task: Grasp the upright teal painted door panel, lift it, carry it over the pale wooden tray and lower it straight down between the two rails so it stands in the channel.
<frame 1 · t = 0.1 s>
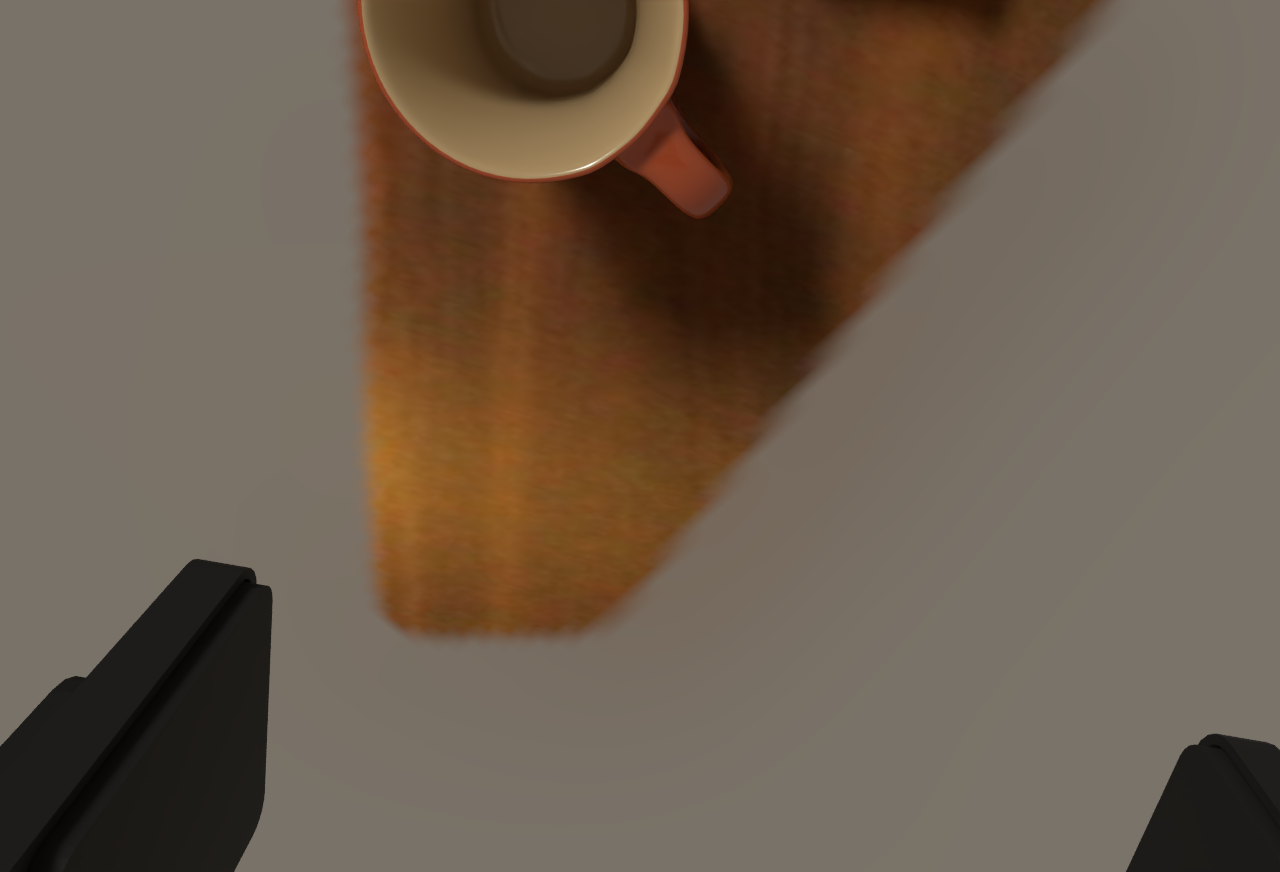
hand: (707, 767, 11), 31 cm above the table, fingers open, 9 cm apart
mug: (598, 44, 38), on the table
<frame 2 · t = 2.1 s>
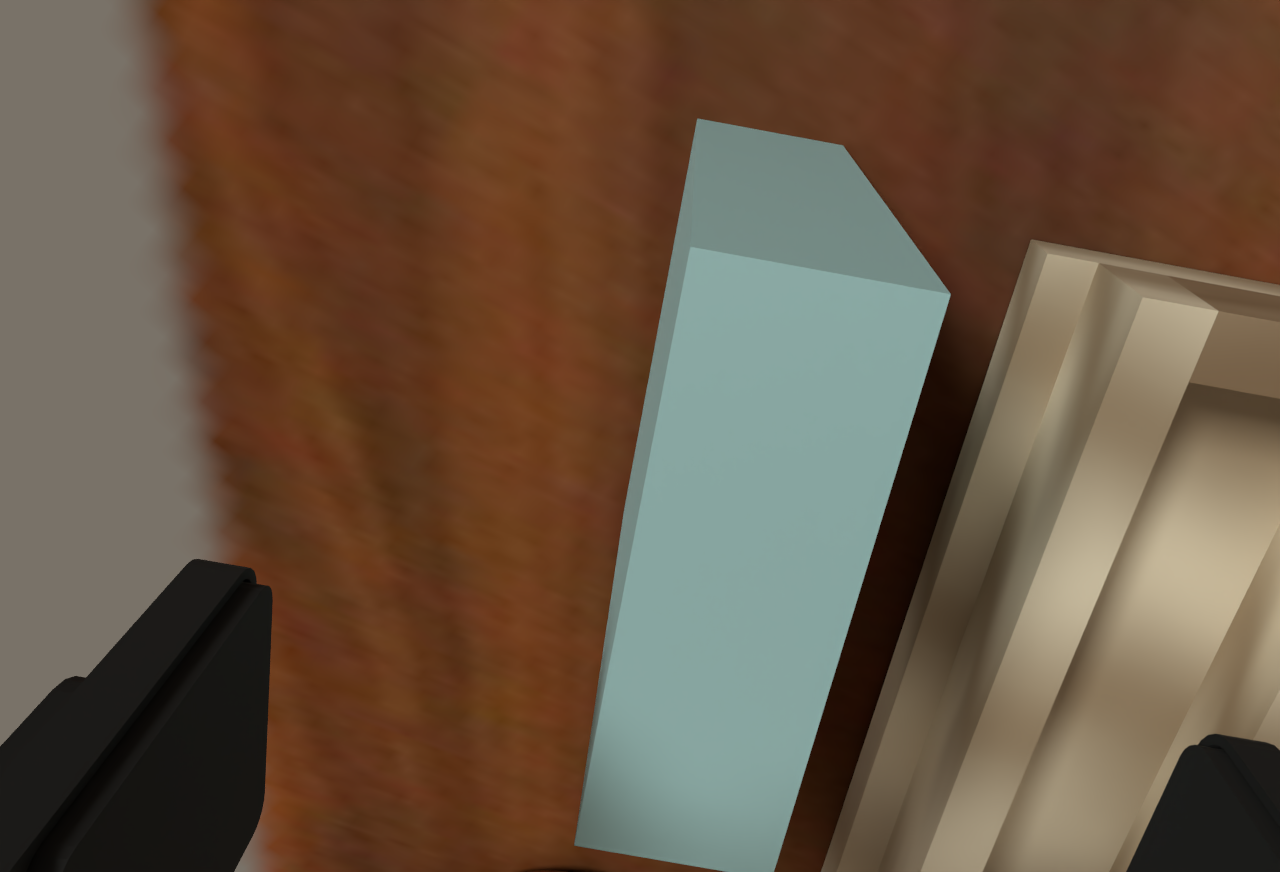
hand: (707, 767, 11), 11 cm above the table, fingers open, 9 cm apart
pale wooden tray: (1093, 639, 22), on the table
door panel: (724, 343, 20), on the table
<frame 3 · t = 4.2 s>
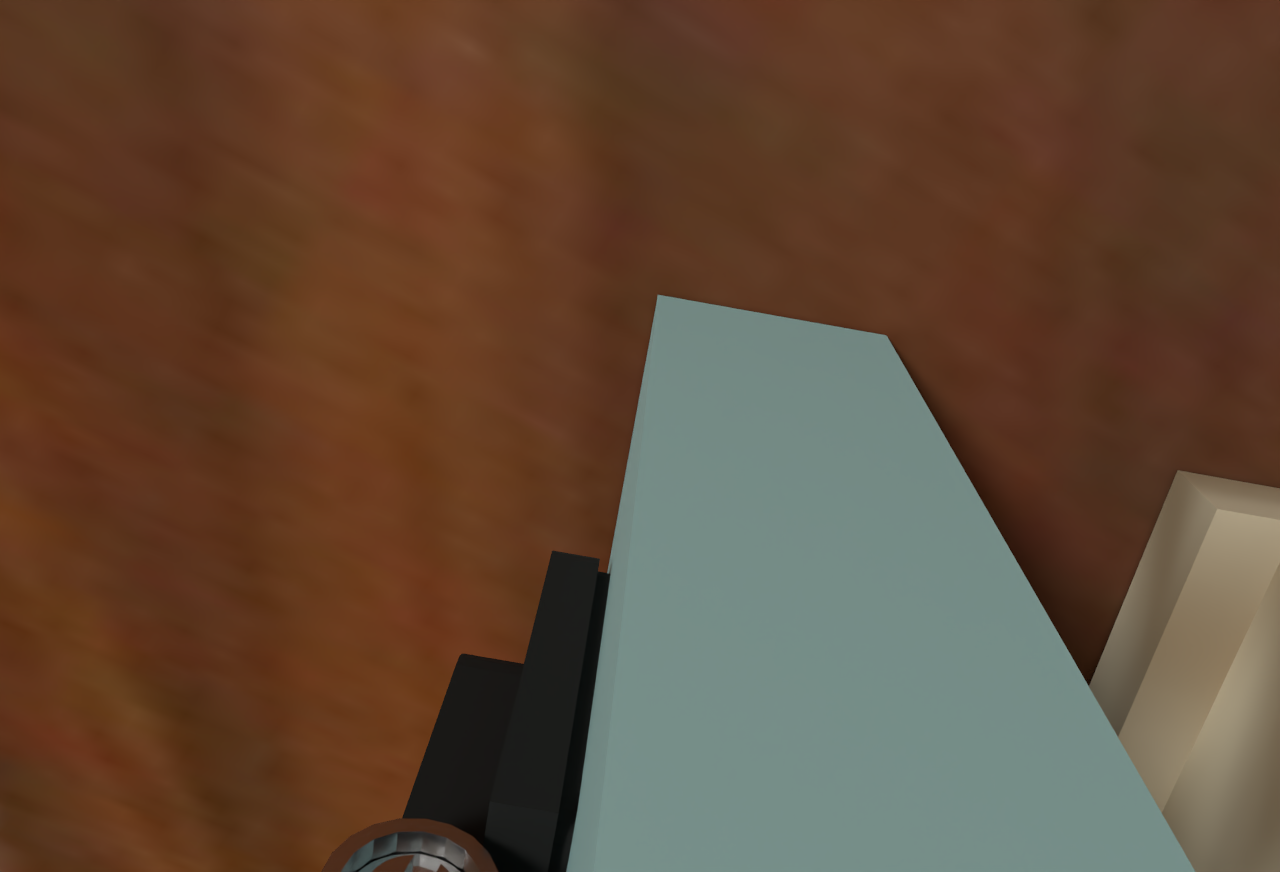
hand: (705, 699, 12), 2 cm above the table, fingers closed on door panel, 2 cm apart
door panel: (704, 616, 13), on the table, touching gripper
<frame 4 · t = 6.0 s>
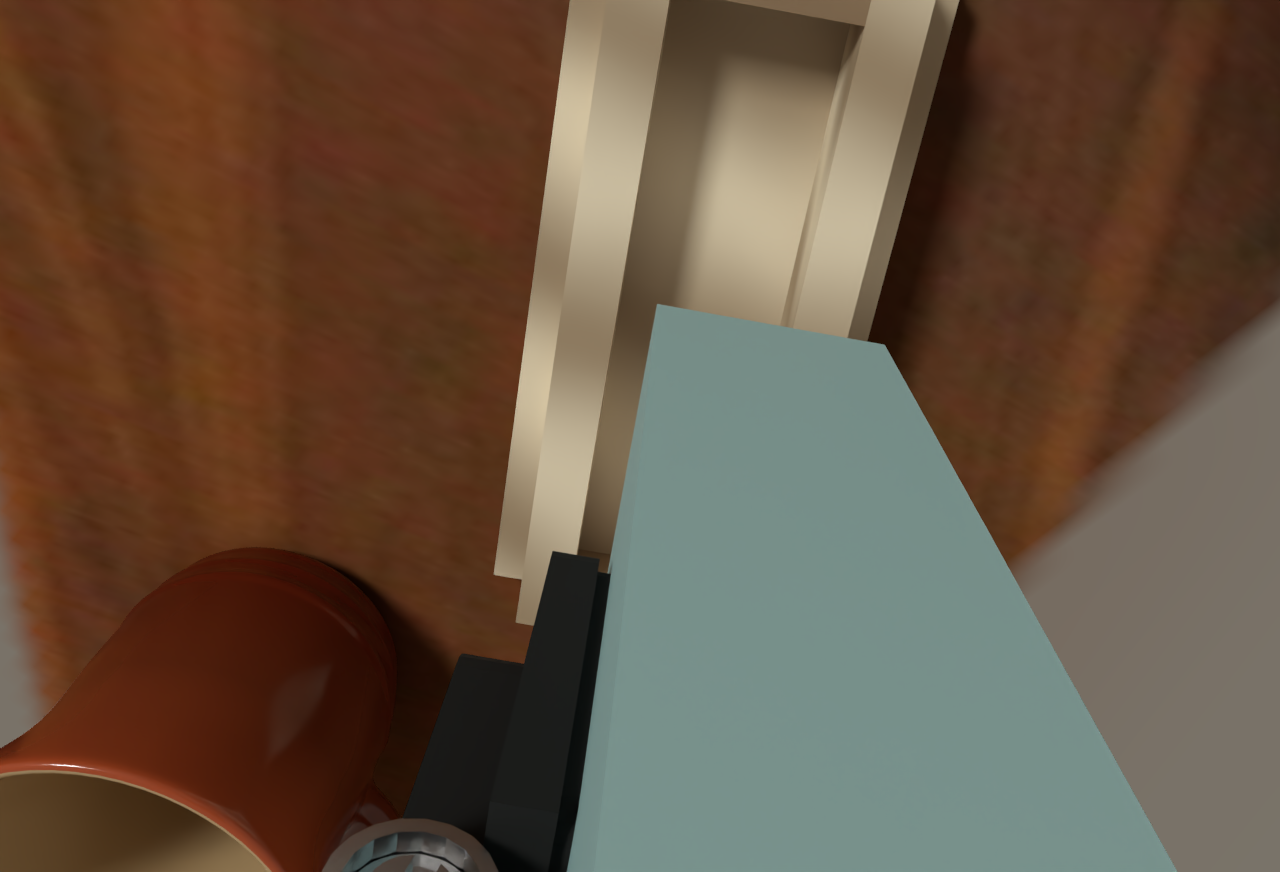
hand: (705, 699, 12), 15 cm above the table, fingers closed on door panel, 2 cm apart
pale wooden tray: (699, 302, 26), on the table
mug: (329, 672, 31), on the table
door panel: (702, 623, 13), point 14 cm above the table, touching gripper
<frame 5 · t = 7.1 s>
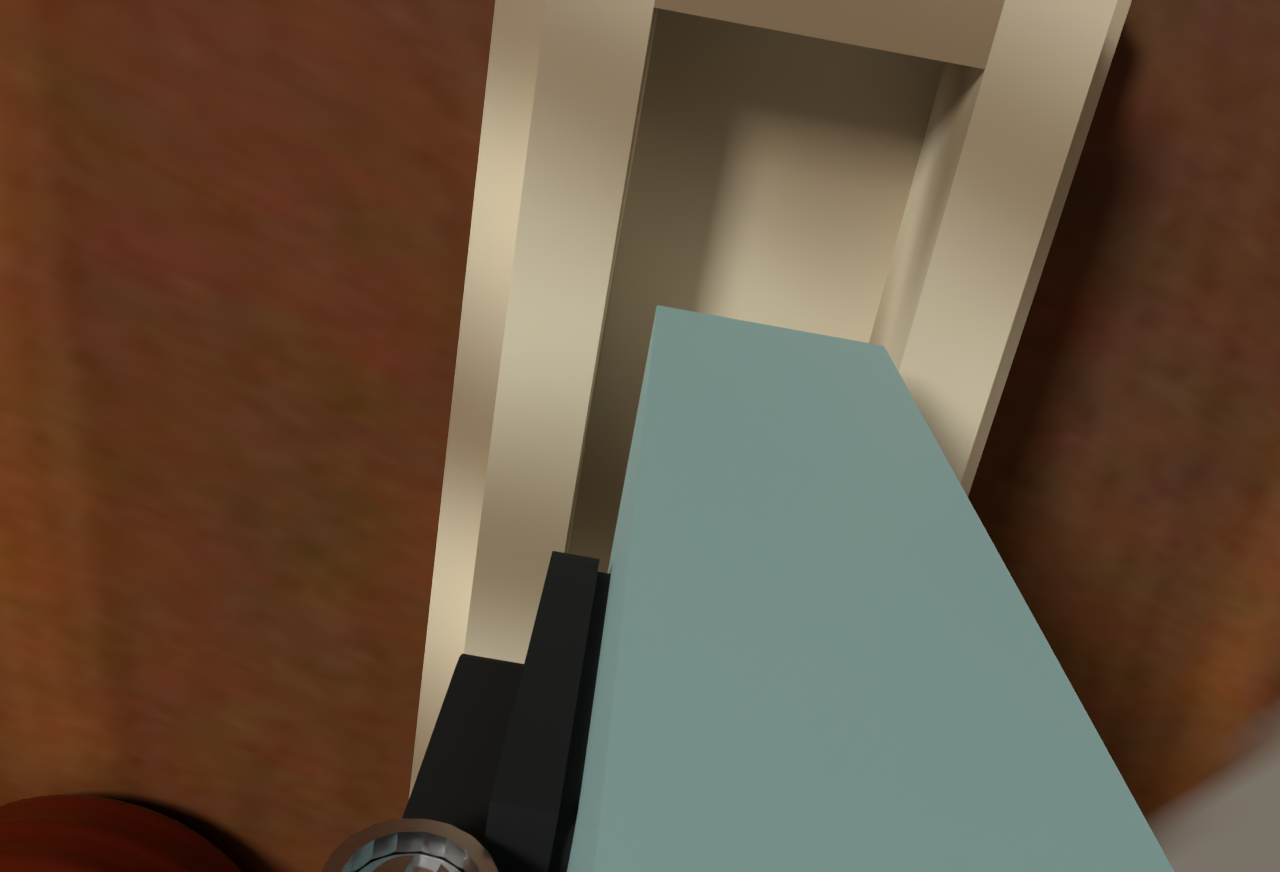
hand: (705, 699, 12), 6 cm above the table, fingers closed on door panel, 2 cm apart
pale wooden tray: (701, 467, 17), on the table
door panel: (702, 623, 13), point 4 cm above the table, touching gripper
when the fingers open (4 cm above the table, at t = 8.1 s): door panel stays where it is, resting on pale wooden tray.
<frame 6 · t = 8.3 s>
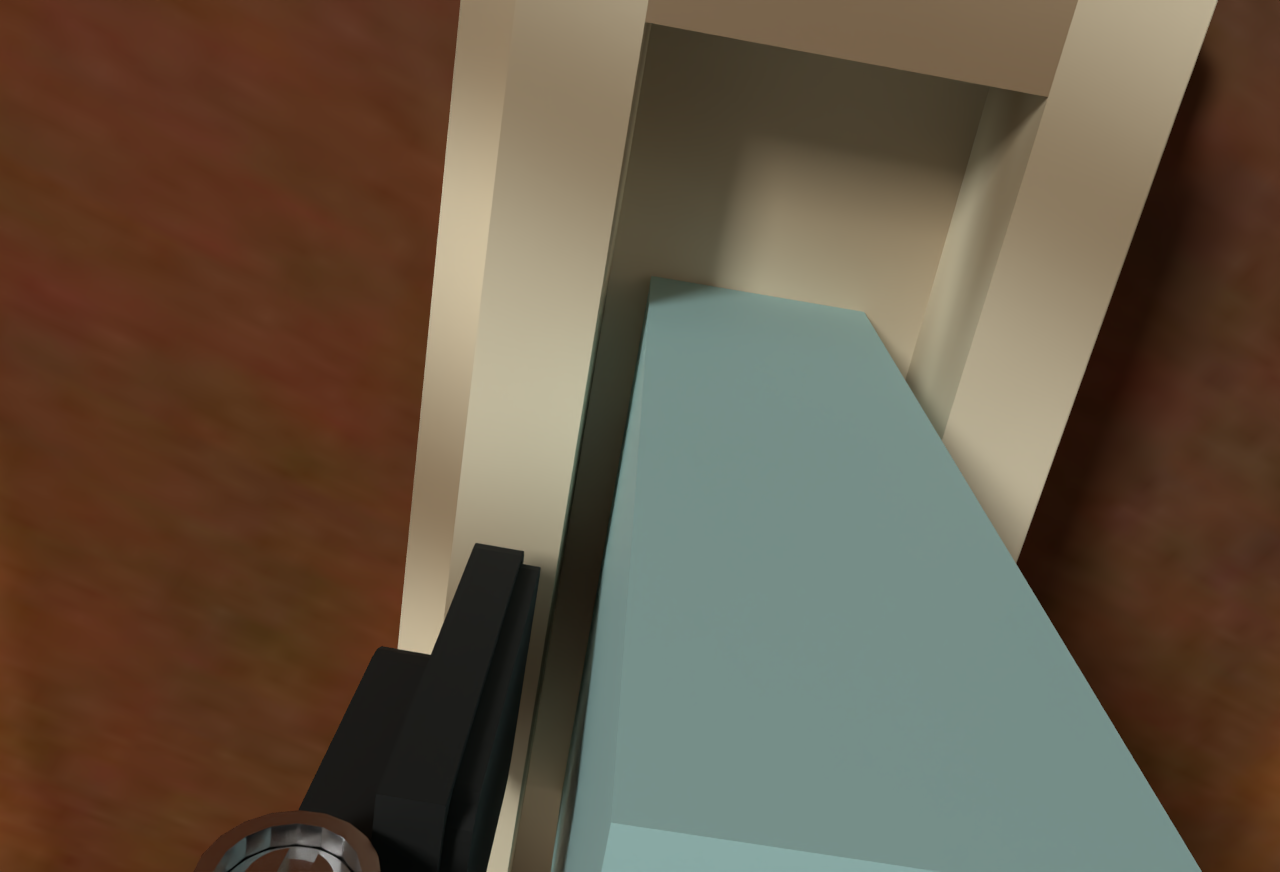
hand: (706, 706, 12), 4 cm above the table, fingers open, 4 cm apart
pale wooden tray: (702, 543, 15), on the table
door panel: (696, 579, 14), point 1 cm above the table, touching pale wooden tray
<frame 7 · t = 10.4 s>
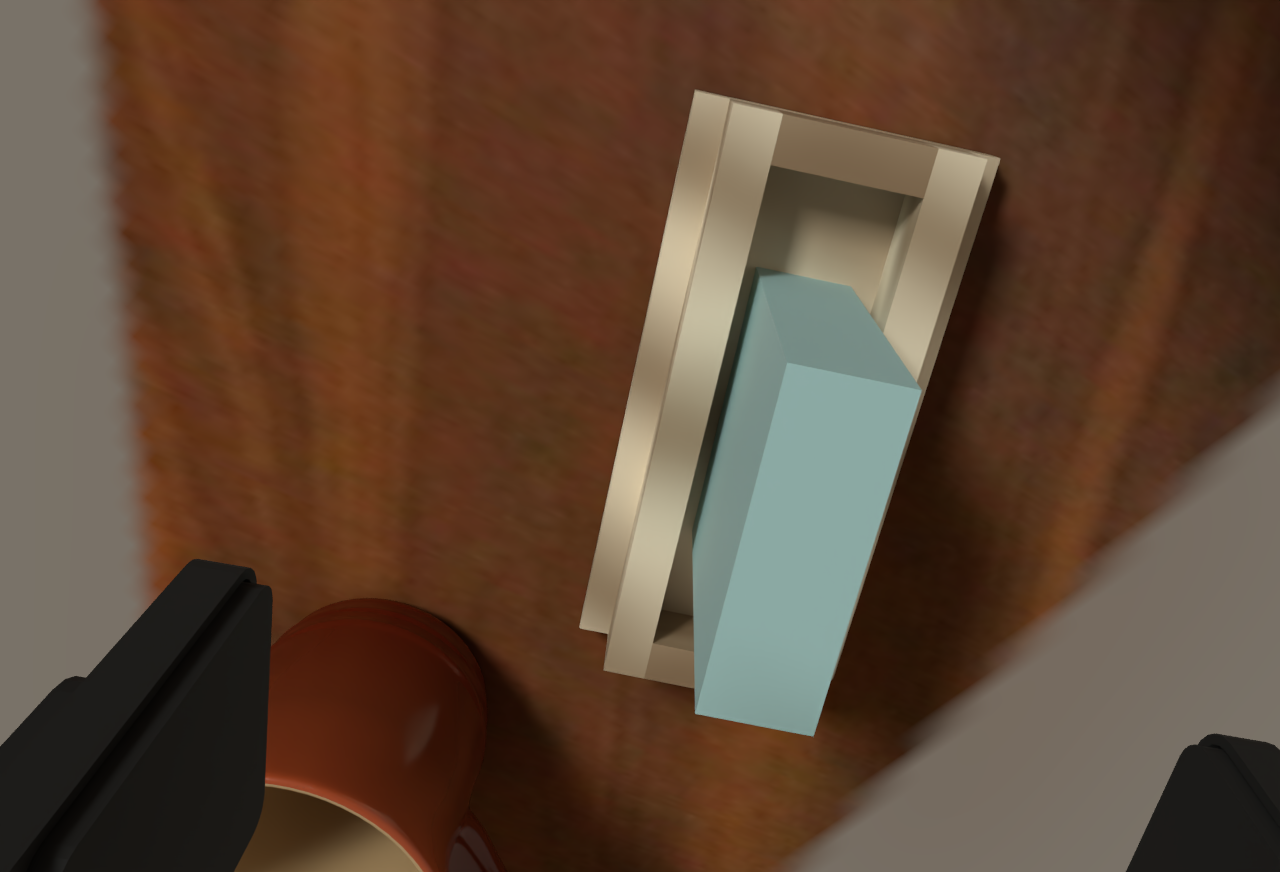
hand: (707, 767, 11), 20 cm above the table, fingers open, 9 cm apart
pale wooden tray: (768, 403, 31), on the table
mug: (422, 709, 35), on the table
door panel: (767, 414, 30), point 1 cm above the table, touching pale wooden tray
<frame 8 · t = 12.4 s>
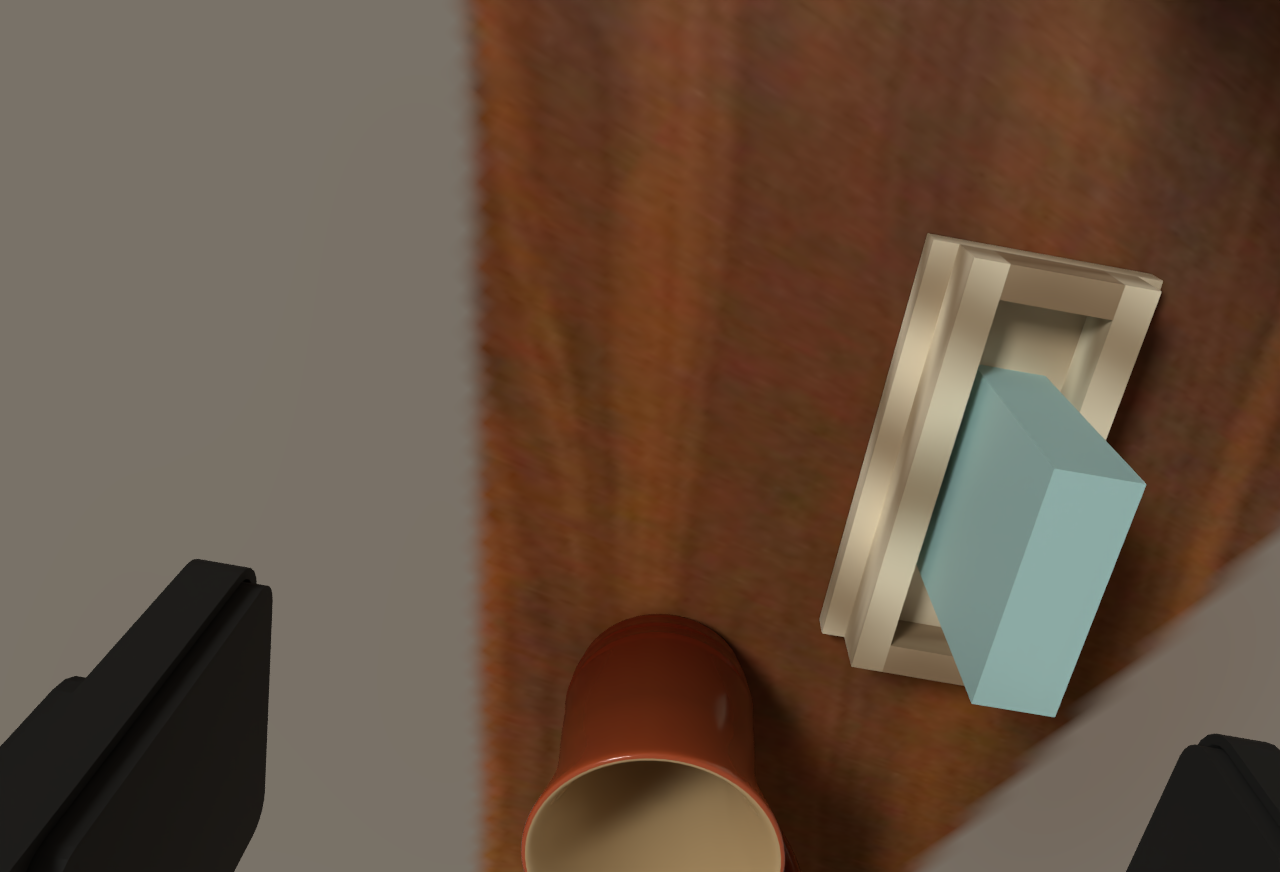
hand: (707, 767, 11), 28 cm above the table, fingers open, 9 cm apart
pale wooden tray: (972, 459, 40), on the table
mug: (687, 697, 45), on the table
door panel: (977, 470, 39), point 1 cm above the table, touching pale wooden tray
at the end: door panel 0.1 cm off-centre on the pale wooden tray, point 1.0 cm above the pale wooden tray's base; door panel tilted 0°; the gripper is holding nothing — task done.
